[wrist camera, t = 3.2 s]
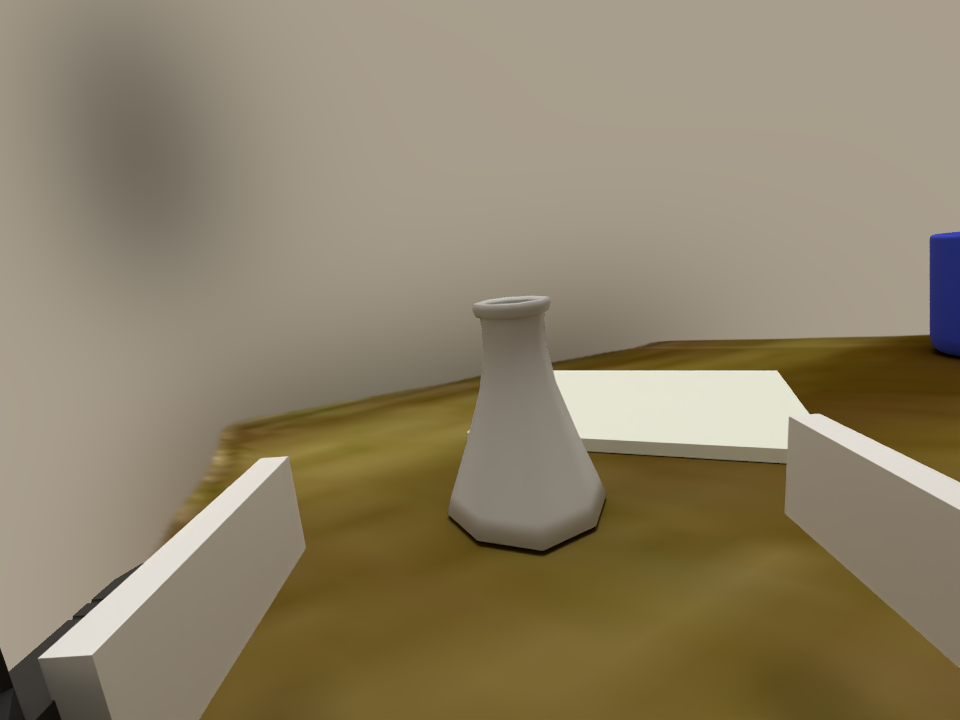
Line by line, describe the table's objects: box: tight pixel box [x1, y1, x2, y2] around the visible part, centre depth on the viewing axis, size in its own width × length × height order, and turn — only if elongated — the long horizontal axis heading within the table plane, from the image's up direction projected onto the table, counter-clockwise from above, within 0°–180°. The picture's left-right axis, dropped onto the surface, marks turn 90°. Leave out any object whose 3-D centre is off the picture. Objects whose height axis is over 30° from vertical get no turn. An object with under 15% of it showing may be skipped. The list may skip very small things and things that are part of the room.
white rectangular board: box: [467, 371, 810, 463], centre depth 35 cm, size 20×16×1 cm
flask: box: [447, 296, 606, 551], centre depth 22 cm, size 7×7×10 cm
